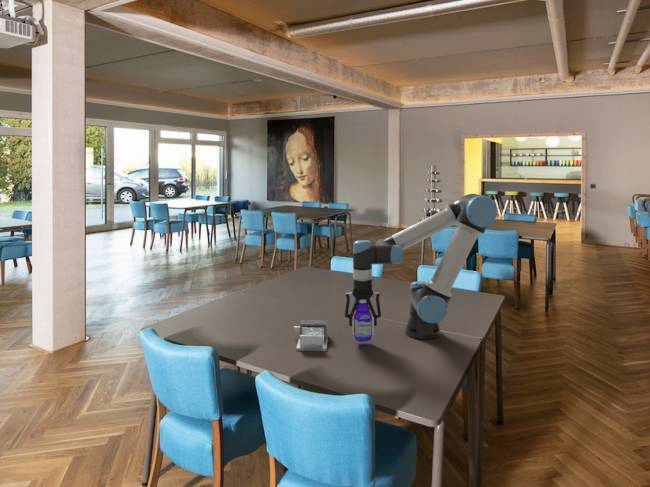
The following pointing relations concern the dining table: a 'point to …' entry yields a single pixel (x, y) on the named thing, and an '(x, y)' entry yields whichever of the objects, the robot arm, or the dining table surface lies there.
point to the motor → (312, 324)
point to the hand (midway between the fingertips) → (363, 333)
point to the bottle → (362, 322)
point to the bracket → (312, 339)
